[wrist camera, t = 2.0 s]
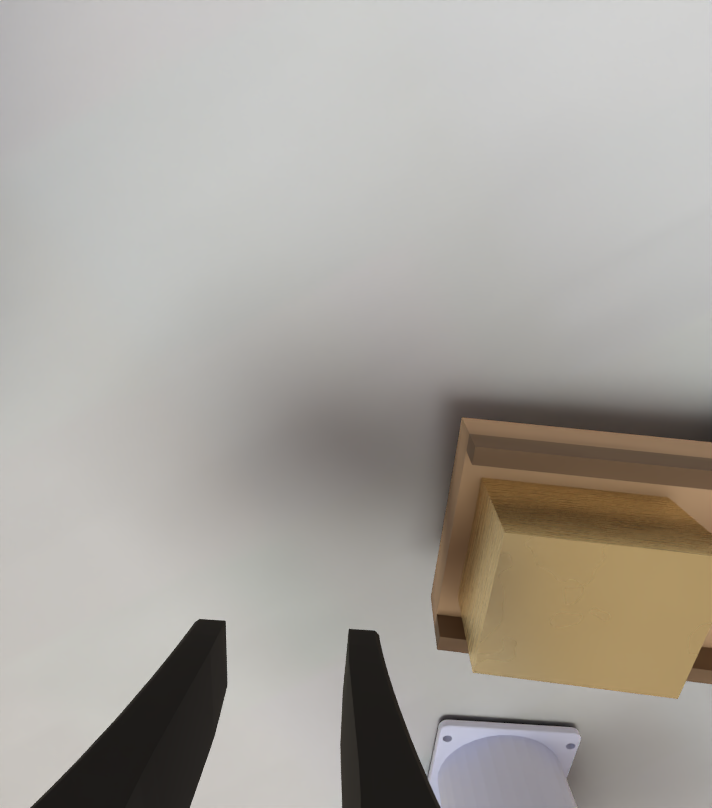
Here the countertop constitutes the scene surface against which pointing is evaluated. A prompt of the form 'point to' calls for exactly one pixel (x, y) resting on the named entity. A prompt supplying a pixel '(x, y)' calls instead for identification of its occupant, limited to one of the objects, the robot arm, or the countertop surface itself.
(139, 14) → the countertop surface
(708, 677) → the beam
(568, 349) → the countertop surface
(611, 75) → the countertop surface
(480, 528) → the block
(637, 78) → the countertop surface
